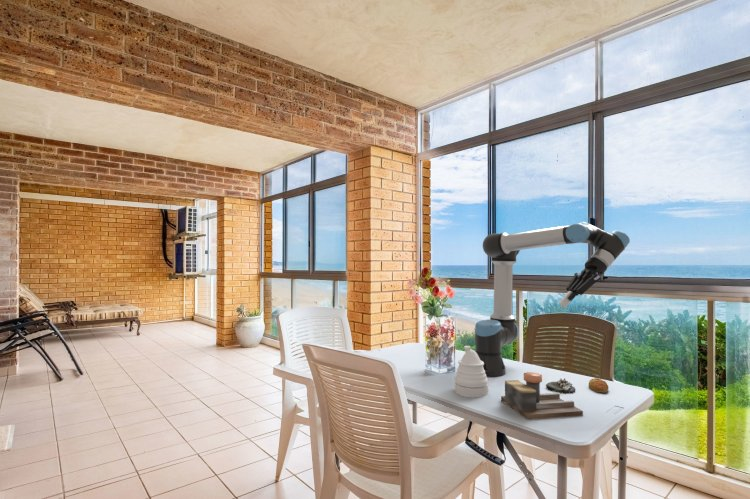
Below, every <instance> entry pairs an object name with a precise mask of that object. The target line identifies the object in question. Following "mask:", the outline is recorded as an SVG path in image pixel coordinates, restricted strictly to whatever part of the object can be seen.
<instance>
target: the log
mask: <svg viewBox="0 0 750 499" xmlns="http://www.w3.org/2000/svg"><path fill="white" fill-rule="evenodd" d="M545 387H546V388H547V390H549V391H552V393H559V394H565V395H566V394H574V393H576V387H575V386H573V383H571V382H570V381H569V380H566V378H559V380H557V381H550V382H547V383H546V384H545Z"/></svg>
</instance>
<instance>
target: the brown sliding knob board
mask: <svg viewBox="0 0 750 499" xmlns="http://www.w3.org/2000/svg"><path fill="white" fill-rule="evenodd" d="M560 394H561V393H558V392H551V393H550V392H549V393H547V392H546V393H540V401H541V402H542V403H536V390H534V389H532V388H531V387H529V386H527V385H526V383H524V382H522V381H521V380H518V379H512V380H504V395H502V396H500V397H501V398H500V401H502V402H503V403H505V405H507V406H508V407H510V408H511V409H512V410H514V411H515V412H517V413H518V414H519V415H521V416H522V417H523V418H525V419H526V420H528V421H529V420H539V419H551V418H552V419H554V418H563V417H564V418H567V417H581V416H584V411H583V410H582V409H580V408H578V407H576V406H575V401H573V400H565V399H561V398H560V397H561V396H560Z"/></svg>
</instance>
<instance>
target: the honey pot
mask: <svg viewBox="0 0 750 499" xmlns="http://www.w3.org/2000/svg"><path fill="white" fill-rule="evenodd" d="M471 347H472V346H470V345H465V346H463V349H464V351H465V352H464V354H463V356H462V358H461V359H460V360H458V362H457V363H458V367H457V369H456V370H457V372H456V373H455V376H454V393H455V394H457V395H458V396H459V395H460V396H462V397H466V398H485V397H486V396H488V395H489V379H488V376H486V374H485V370H484V368H483V365H484V362H483V361H481V360H480V358H479V356H478V355H477V353H476V352H475V350H474V349H472V348H471Z"/></svg>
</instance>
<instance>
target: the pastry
mask: <svg viewBox="0 0 750 499" xmlns="http://www.w3.org/2000/svg"><path fill="white" fill-rule="evenodd" d="M588 387H589V389H590V390H592V391H593V392H596V393H605V394H606V393H607V392H608V391H609V384H608V383H607V382H606V381H605V380H603V379H601V378H598V377H595V378H591V379H590V380H589V381H588Z"/></svg>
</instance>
